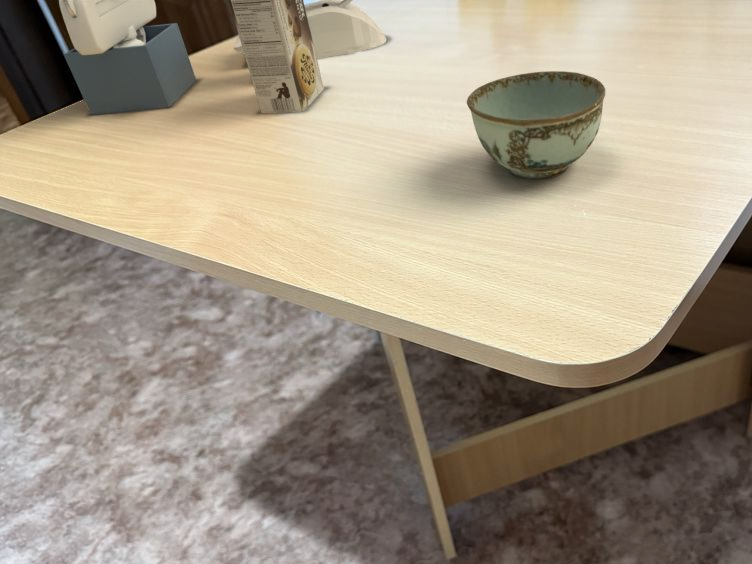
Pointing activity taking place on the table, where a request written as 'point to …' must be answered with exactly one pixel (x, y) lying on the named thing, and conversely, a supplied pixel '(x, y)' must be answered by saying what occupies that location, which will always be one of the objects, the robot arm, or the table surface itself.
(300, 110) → the cookie box
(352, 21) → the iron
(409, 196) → the table surface
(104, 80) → the drawer
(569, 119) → the bowl
